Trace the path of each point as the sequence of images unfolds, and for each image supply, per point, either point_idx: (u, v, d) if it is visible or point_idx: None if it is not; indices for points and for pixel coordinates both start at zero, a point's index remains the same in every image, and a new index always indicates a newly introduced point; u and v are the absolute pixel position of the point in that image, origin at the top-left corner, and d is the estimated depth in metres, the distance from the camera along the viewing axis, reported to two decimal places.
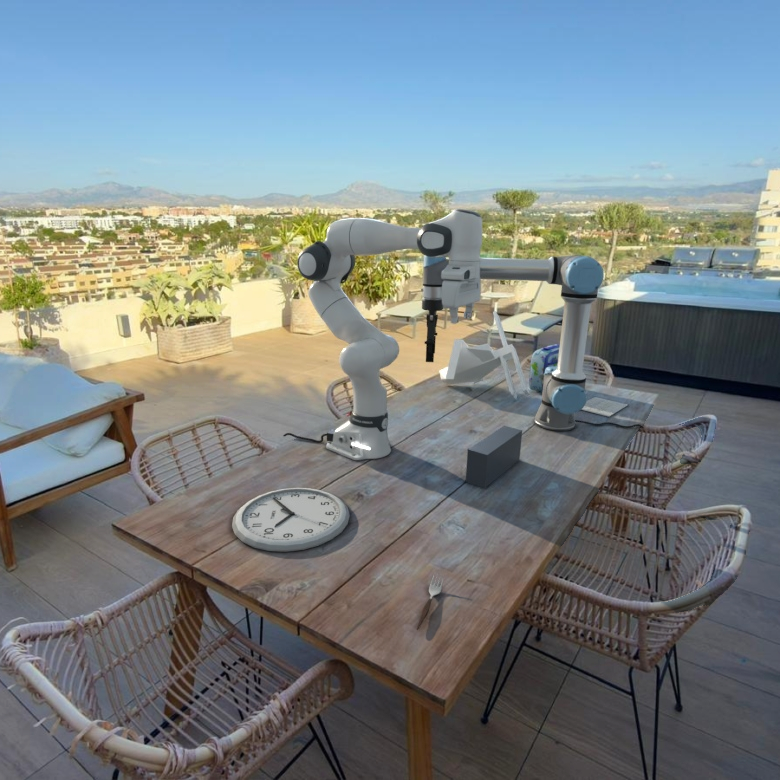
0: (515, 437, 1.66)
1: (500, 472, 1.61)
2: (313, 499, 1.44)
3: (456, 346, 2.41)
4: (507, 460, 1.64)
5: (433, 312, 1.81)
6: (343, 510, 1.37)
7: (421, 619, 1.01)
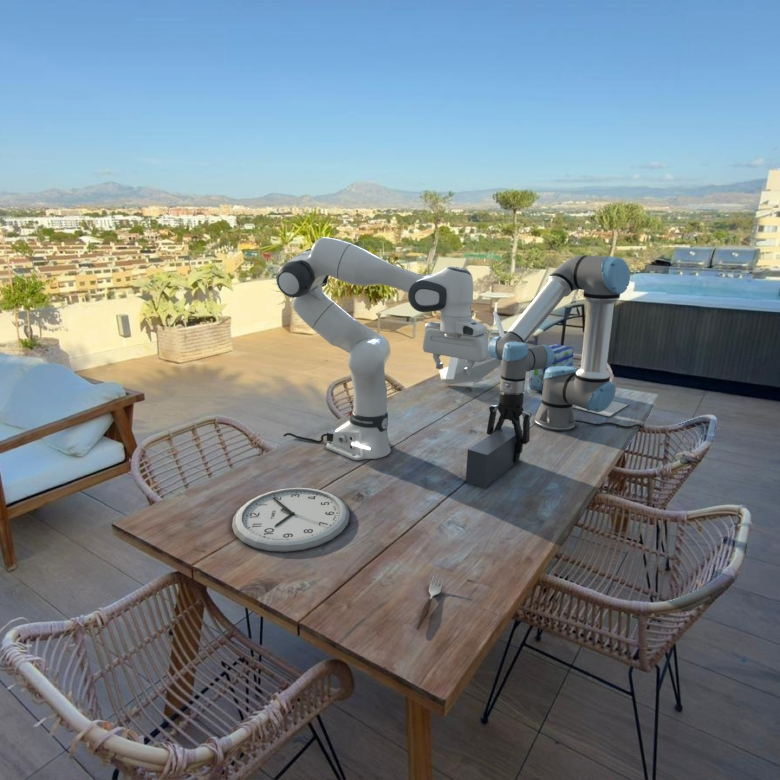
0: (515, 437, 1.66)
1: (500, 472, 1.61)
2: (313, 499, 1.44)
3: None
4: (507, 460, 1.64)
5: None
6: (343, 510, 1.37)
7: (421, 619, 1.01)
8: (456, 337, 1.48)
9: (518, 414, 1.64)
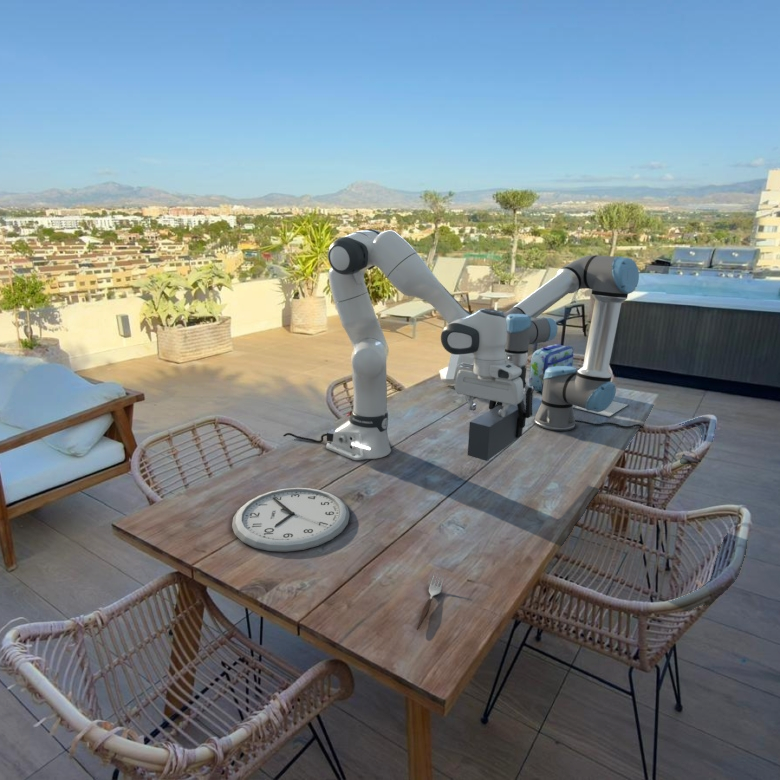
0: (518, 411, 1.63)
1: (502, 446, 1.59)
2: (313, 499, 1.44)
3: None
4: (510, 435, 1.62)
5: (524, 379, 1.61)
6: (343, 510, 1.37)
7: (421, 619, 1.01)
8: (490, 380, 1.46)
9: None
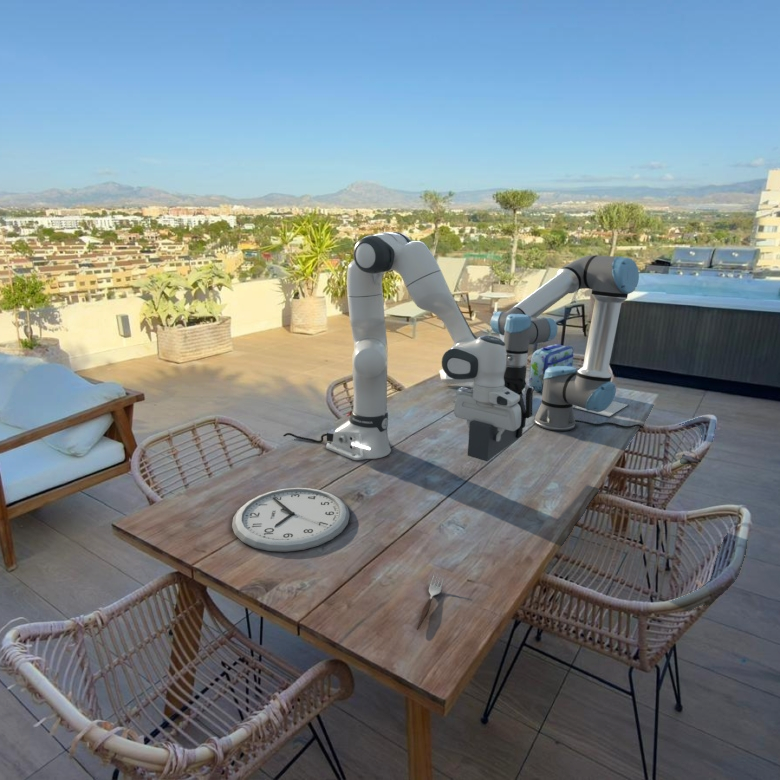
0: None
1: (502, 446, 1.59)
2: (313, 499, 1.44)
3: None
4: (510, 435, 1.62)
5: (524, 380, 1.61)
6: (343, 510, 1.37)
7: (421, 619, 1.01)
8: (489, 406, 1.48)
9: (521, 387, 1.61)
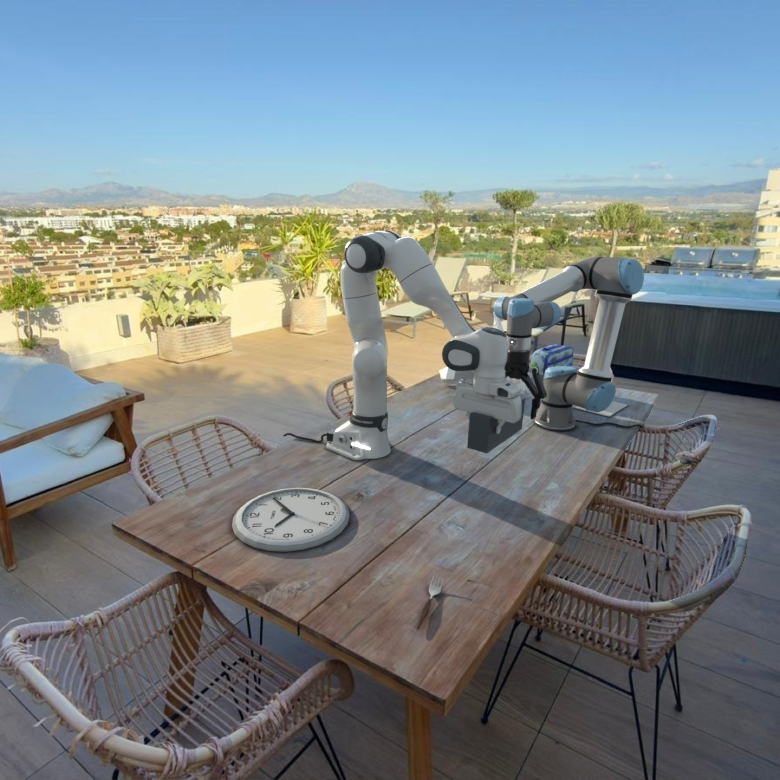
0: None
1: (502, 439, 1.58)
2: (313, 499, 1.44)
3: None
4: (510, 428, 1.61)
5: (528, 364, 1.61)
6: (343, 510, 1.37)
7: (421, 619, 1.01)
8: (490, 397, 1.47)
9: (525, 372, 1.61)
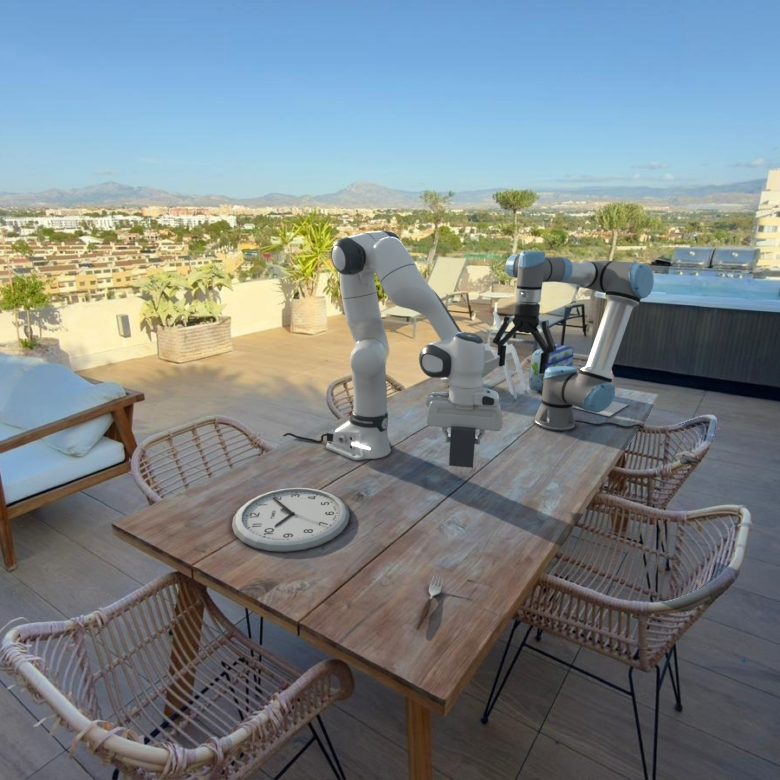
0: None
1: None
2: (313, 499, 1.44)
3: None
4: None
5: (538, 317, 1.61)
6: (343, 510, 1.37)
7: (421, 619, 1.01)
8: (472, 408, 1.37)
9: (534, 325, 1.60)
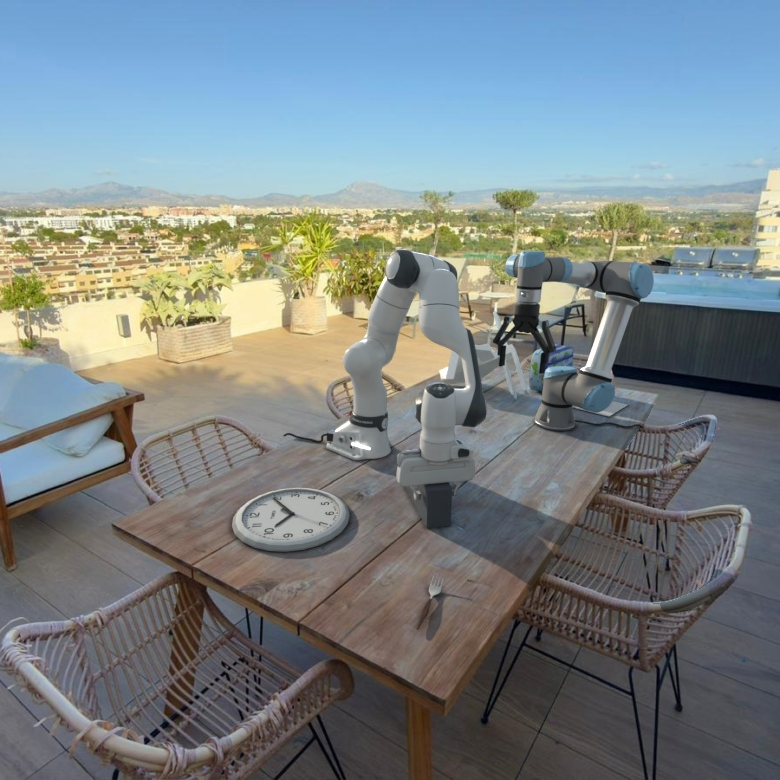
0: None
1: None
2: (313, 499, 1.44)
3: None
4: None
5: (538, 317, 1.61)
6: (343, 510, 1.37)
7: (421, 619, 1.01)
8: (446, 462, 1.30)
9: (534, 325, 1.60)
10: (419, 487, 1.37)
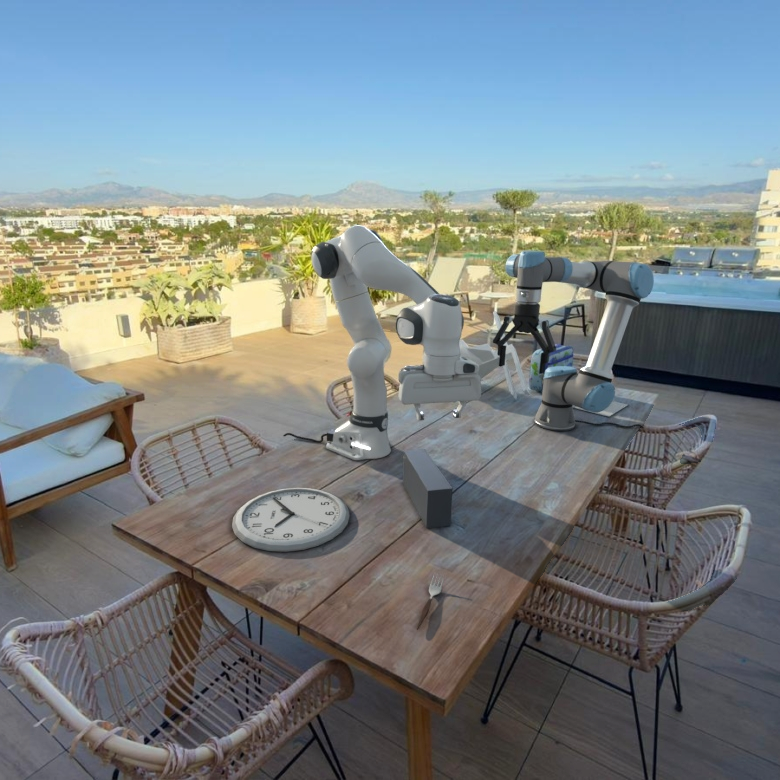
0: None
1: None
2: (313, 499, 1.44)
3: None
4: None
5: (538, 317, 1.61)
6: (343, 510, 1.37)
7: (421, 619, 1.01)
8: (451, 378, 1.24)
9: (534, 325, 1.60)
10: (419, 487, 1.37)
